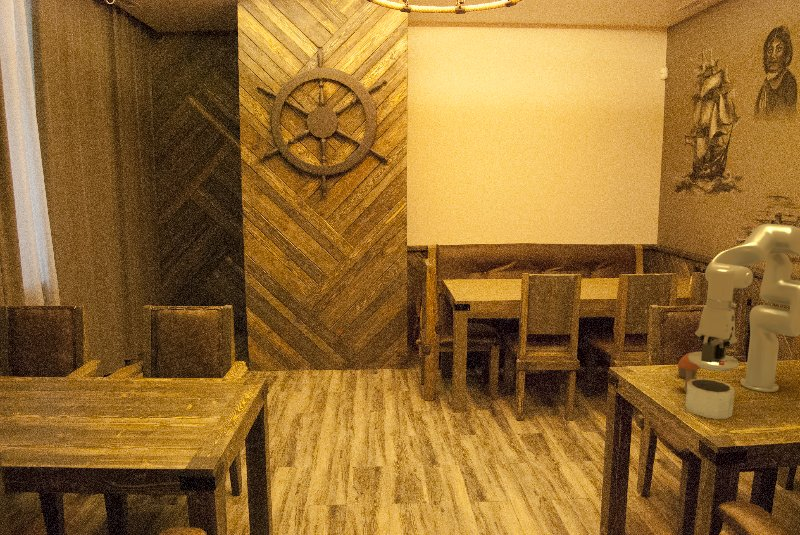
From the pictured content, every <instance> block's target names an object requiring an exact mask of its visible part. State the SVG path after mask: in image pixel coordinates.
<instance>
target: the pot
mask: <svg viewBox="0 0 800 535" xmlns="http://www.w3.org/2000/svg"><path fill="white" fill-rule="evenodd" d="M735 391H736V390H735V388H734V386H733V385H731V384H729V383H727V382H724V381H720V380H716V379H711V378H705V377H704V378H703V377H699V378H693V379H691V380H689V381H688V382H687V392H685V393H686V394H685V405H684V406H685V410H686V409H687V410H686V411H688V410H689V411H690V413H691V412H692V413H691V414H693V413H694V414H693V415H695V414H697V415H696V416H698V415H700V416H699V417H701V416H703V417H702V418H704V417H707V419H711V418H713V419H714V420H724V419H726V420H727V419H729V418H731V417H733V408H734V401H735ZM689 411H688V412H689ZM713 419H712V420H713Z"/></svg>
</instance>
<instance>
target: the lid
mask: <svg viewBox="0 0 800 535" xmlns="http://www.w3.org/2000/svg"><path fill="white" fill-rule="evenodd" d="M701 348H702V349H701V351H694V352H693V351H692V352H689V353H690V354H689V356H688V360H689V361H690V362H692V363H694V364H696V365H697V366H699V367H701V368H700V369H705V370H708V371H712V372H713V371H714V372H726V371H727V372H728V371H729V370H733V369H737V368H738V367H739V365H740V364H739V363H740V361H739V360H738V359H737V358H735V357H733V356H730V355H727V354H726V353H727V346H726V347H725V350H724V356H723V357H722V358H721V359H717V349H718V348H719V339H718V338H715V339H713V340H711V341H710V342H707V343H705V344H703V343H702V347H701Z"/></svg>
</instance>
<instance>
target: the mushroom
mask: <svg viewBox="0 0 800 535" xmlns="http://www.w3.org/2000/svg"><path fill="white" fill-rule="evenodd" d="M690 353H691V352H688V353H686V354H684V355H683V356H682V357H681V358H680V359H679V361H678V363H677V367H678V366H679V367H680V368H682V369H686V379H684V380H685V381H684V382H685V383H684V392H685V393H687V382H688V381H689V380H691V379H692V370H697V371H699V370H700V369H702V368H701V367H699V366H697V365H696V364H694V363H692V362H690V361H689V360H688V356H689V354H690Z"/></svg>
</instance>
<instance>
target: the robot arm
mask: <svg viewBox="0 0 800 535" xmlns="http://www.w3.org/2000/svg"><path fill="white" fill-rule="evenodd" d="M788 255H794V256H800V227H797V226H795V225H790V224H789V225H786V224H774V223H764V224H760V225H758V226H757V227H756V228H754V230H753V231H752V232H751V233H750V234H749V235H748V237H747V238H746V239H745V240H744V242H743V243H742V244H740V245H737V246H734V247H731V248H728V249H726V250H723V251H721V252H719V253H718V254H716V256H714V257H713V259H711V261H710V262H709V264H707V267H706V269H705V273H704V277H705V280H706V281H707V282H708V283H707V294H706V303H705V304H706V305H704V306H703V309H702V312H701V316H700V319H699V325H698V328H697V330H696V331H695V332H694V334H695V335H696V336H697V337H698V338H700V340H701V341H702V345H703V344H705V343H707V342H710V341H712V338H713V339H714V338H715V339H719V348H718V349H717V359H721V358H722V357H723V356H724V350H725V347H726V348H727V347H728V346H729V345H732V344H736V343H737V342H738V340H737V337H736V335H735V334H736V333H735V332H736V317H735V316H736V315H735V310H734V309H733V308H736V307H737V303H734V300H733V296H734V289H746V288H748V286H749V287H750V285H751V284H752V282H753V280H754V275H753V271H752V270H751V268H748V267H746V266H751V265H755V264H759V263H761V262H763V261H764V260H765V267H764V272H763V277H762V280H761V286H760V289H759V290H760V292H759V296H760V298H761V300H763V301H765V302H769V303H773V304H778V305H784V306H789V307H790V308H789V309H788V308H783V307H780V306H779V307H778V306H775V305H774V306H773V305H769V304H768V305H766V304H759V305H755V306H753V307H752V308H751V310H750V312H749V316H748V317H749V319H748V320H749V329H750V332H749V335H750V336H749V345H748V353H747V363H746V371H745V377H743V378H741V379H740V381H739V382H740V385H741V386H742V387H744V388H746V389H749V390H752V391H755V392H762V393H774V392H777V391H779V387H780V386H779V385H778V384H777V383H775V381H776V380H775V379H776V372H777V371H776V370H777V364H778V356H779V348H780V347H779V346H780V344H779V340H778V337H777V336H776V334H779V335H784V336H788V337H797V336H799V335H800V280H795V279H791V274H792V271H793V264H792V262H791V260H790V258H789V256H788Z"/></svg>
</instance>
